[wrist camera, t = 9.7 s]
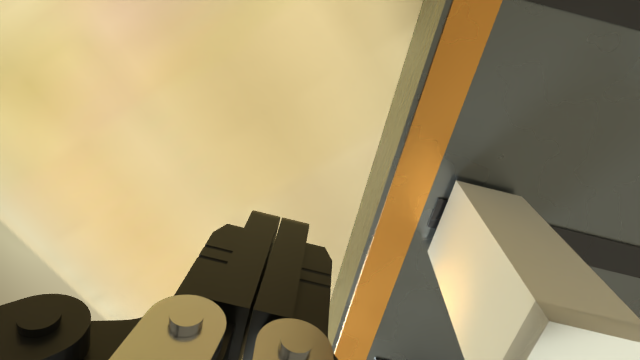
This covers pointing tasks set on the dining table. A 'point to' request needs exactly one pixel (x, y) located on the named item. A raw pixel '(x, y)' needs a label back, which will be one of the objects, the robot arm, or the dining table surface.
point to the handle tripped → (523, 285)
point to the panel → (495, 158)
